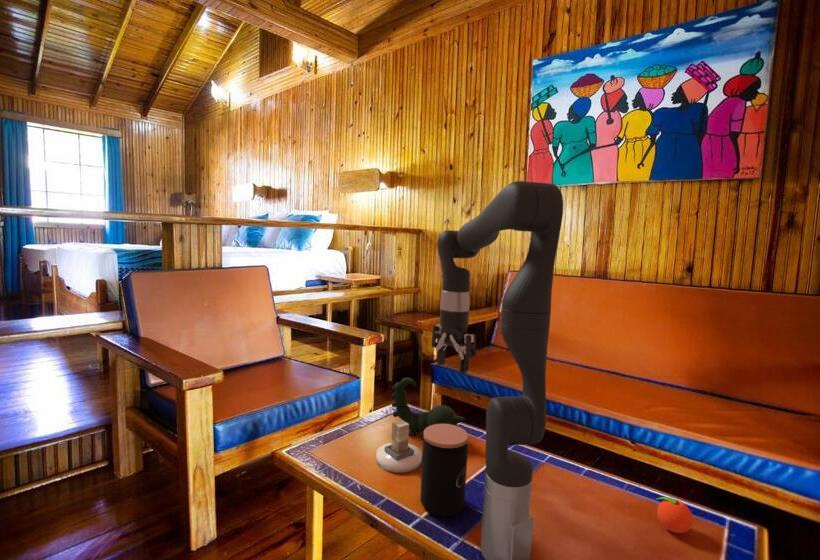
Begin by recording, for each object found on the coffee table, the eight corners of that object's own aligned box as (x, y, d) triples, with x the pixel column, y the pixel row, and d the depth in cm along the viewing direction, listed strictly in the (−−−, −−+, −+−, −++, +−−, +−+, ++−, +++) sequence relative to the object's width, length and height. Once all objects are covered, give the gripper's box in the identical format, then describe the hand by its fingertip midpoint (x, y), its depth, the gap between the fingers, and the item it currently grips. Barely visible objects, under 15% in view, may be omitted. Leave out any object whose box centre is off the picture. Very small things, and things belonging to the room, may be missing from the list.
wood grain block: (407, 454, 123) (408, 424, 122) (397, 457, 121) (399, 427, 120) (400, 449, 126) (401, 419, 125) (391, 452, 124) (392, 422, 123)
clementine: (646, 526, 100) (649, 497, 99) (655, 513, 105) (659, 485, 104) (686, 545, 94) (690, 515, 93) (694, 530, 99) (698, 501, 98)
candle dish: (430, 463, 123) (431, 451, 122) (393, 477, 115) (393, 465, 114) (403, 444, 133) (404, 433, 133) (367, 456, 125) (367, 444, 125)
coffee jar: (462, 522, 99) (466, 447, 96) (416, 514, 101) (419, 441, 98) (465, 494, 109) (470, 426, 107) (424, 487, 111) (427, 420, 109)
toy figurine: (388, 437, 141) (460, 452, 128) (385, 380, 139) (458, 389, 127) (402, 426, 149) (471, 439, 137) (400, 372, 147) (469, 380, 135)
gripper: (485, 311, 109) (481, 373, 111) (446, 302, 121) (444, 359, 122) (464, 313, 105) (460, 378, 107) (426, 304, 116) (423, 363, 118)
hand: (451, 368), depth 114 cm, fingers open, 8 cm apart
